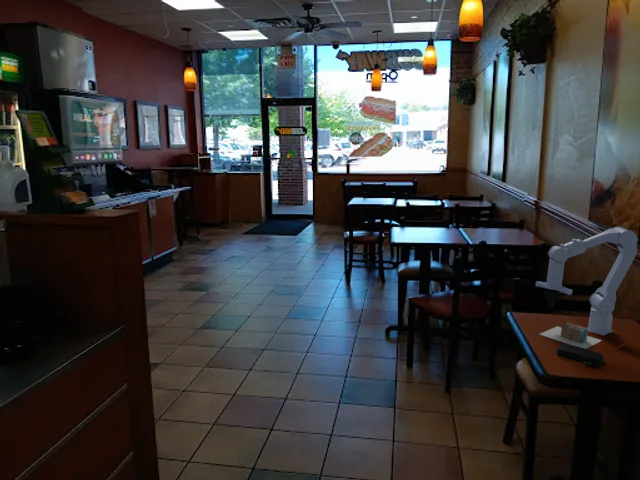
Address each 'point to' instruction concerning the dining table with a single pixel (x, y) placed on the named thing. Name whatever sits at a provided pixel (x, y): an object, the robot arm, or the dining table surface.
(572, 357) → the carrying case or bag
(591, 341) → the mat
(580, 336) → the teal and wood block
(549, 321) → the dining table surface
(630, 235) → the robot arm
